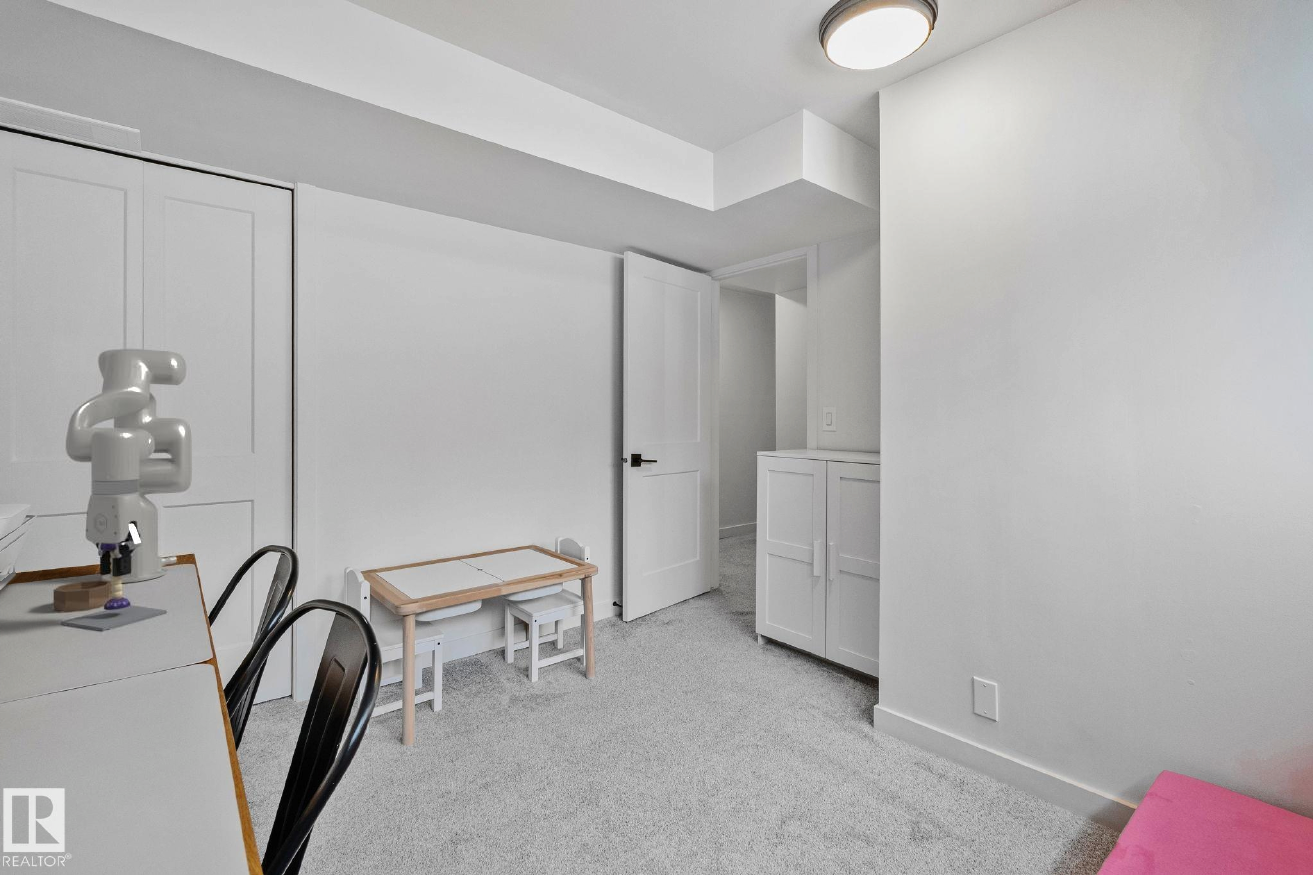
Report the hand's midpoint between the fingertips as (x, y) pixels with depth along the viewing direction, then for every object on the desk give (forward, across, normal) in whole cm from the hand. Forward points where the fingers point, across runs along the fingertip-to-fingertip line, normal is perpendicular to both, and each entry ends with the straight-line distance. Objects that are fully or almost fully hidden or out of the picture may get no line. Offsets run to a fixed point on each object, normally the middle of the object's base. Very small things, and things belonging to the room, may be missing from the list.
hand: (115, 573), depth 126 cm
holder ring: (+10, -16, +4) cm, 19 cm away
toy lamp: (+7, 0, 0) cm, 7 cm away
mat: (+10, 0, 0) cm, 10 cm away
